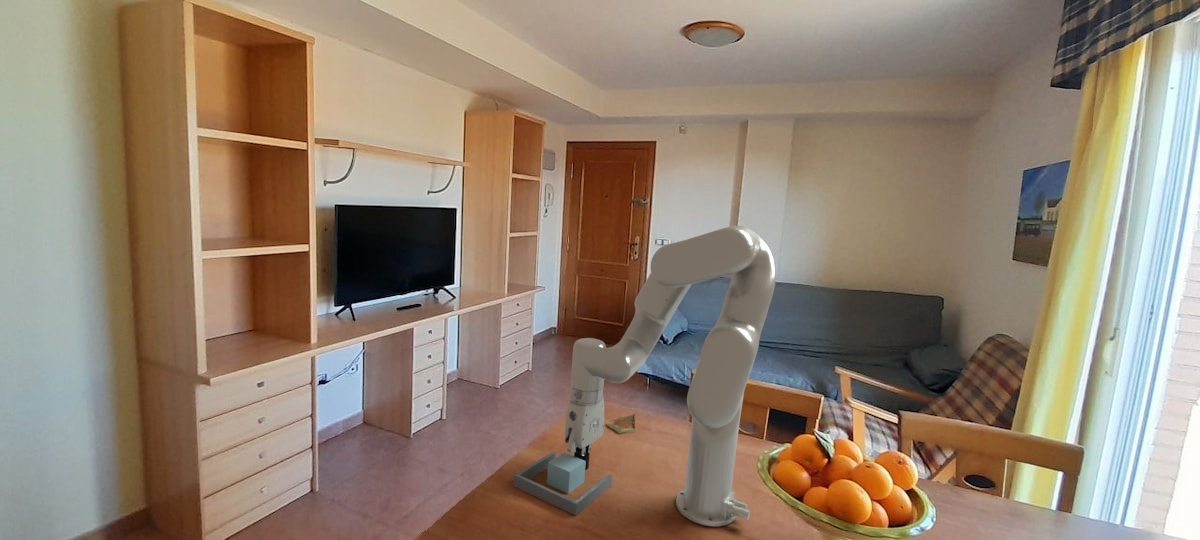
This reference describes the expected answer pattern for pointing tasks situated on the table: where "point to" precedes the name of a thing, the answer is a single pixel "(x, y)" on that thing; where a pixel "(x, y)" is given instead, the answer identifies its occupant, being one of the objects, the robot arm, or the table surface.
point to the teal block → (566, 472)
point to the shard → (623, 424)
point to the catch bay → (553, 497)
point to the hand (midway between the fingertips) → (580, 468)
